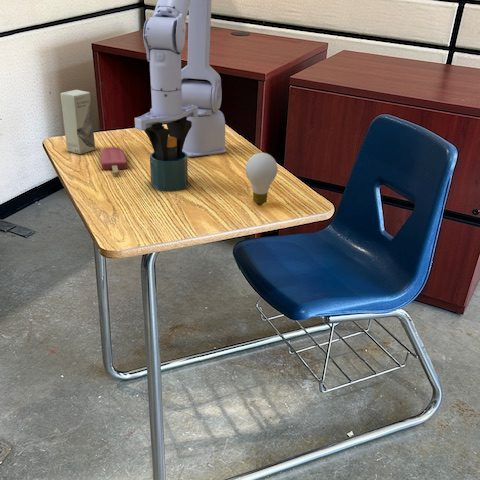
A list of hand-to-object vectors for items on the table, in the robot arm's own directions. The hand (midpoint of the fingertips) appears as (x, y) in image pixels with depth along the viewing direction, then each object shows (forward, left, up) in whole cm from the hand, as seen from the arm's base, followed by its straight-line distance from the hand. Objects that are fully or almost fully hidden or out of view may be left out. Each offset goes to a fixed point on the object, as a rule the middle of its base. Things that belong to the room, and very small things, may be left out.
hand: (168, 159), depth 120 cm
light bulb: (-12, +17, -5) cm, 21 cm away
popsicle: (+7, -15, -5) cm, 18 cm away
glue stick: (0, 0, -2) cm, 2 cm away
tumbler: (0, 0, -5) cm, 5 cm away
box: (+11, -27, -5) cm, 30 cm away
